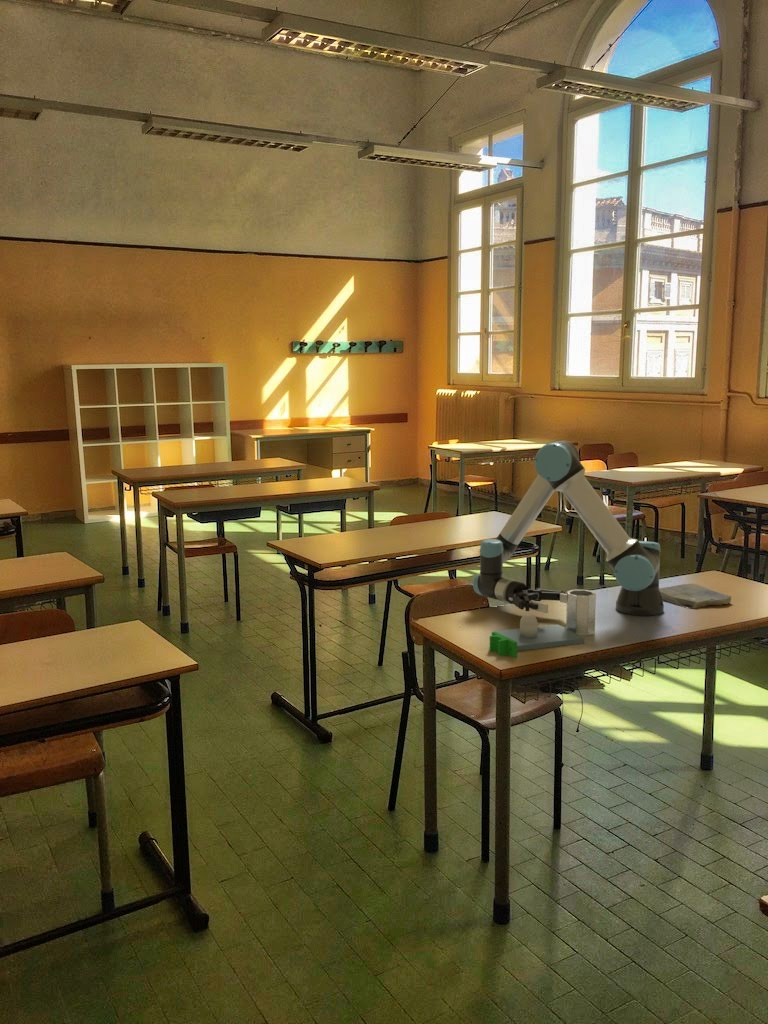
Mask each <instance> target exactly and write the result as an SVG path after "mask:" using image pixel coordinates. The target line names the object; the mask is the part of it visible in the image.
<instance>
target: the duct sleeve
mask: <svg viewBox="0 0 768 1024" xmlns="http://www.w3.org/2000/svg"><path fill="white" fill-rule="evenodd" d="M566 594H567V603H566V620H565V622H566V623H565V625H566V626H565V628H566V629H568V630H570V631H572V632H573V633H575V634H577V635H579V636H581V637H583V636H585V637H586V636H587V637H588V636H591V635H594V634H596V632H595V631H596V609H597V608H596V606H597V604H596V603H597V601H596V600H597V594H596V592H595V591H592V590H587V589H571V590H567V591H566Z"/></svg>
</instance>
